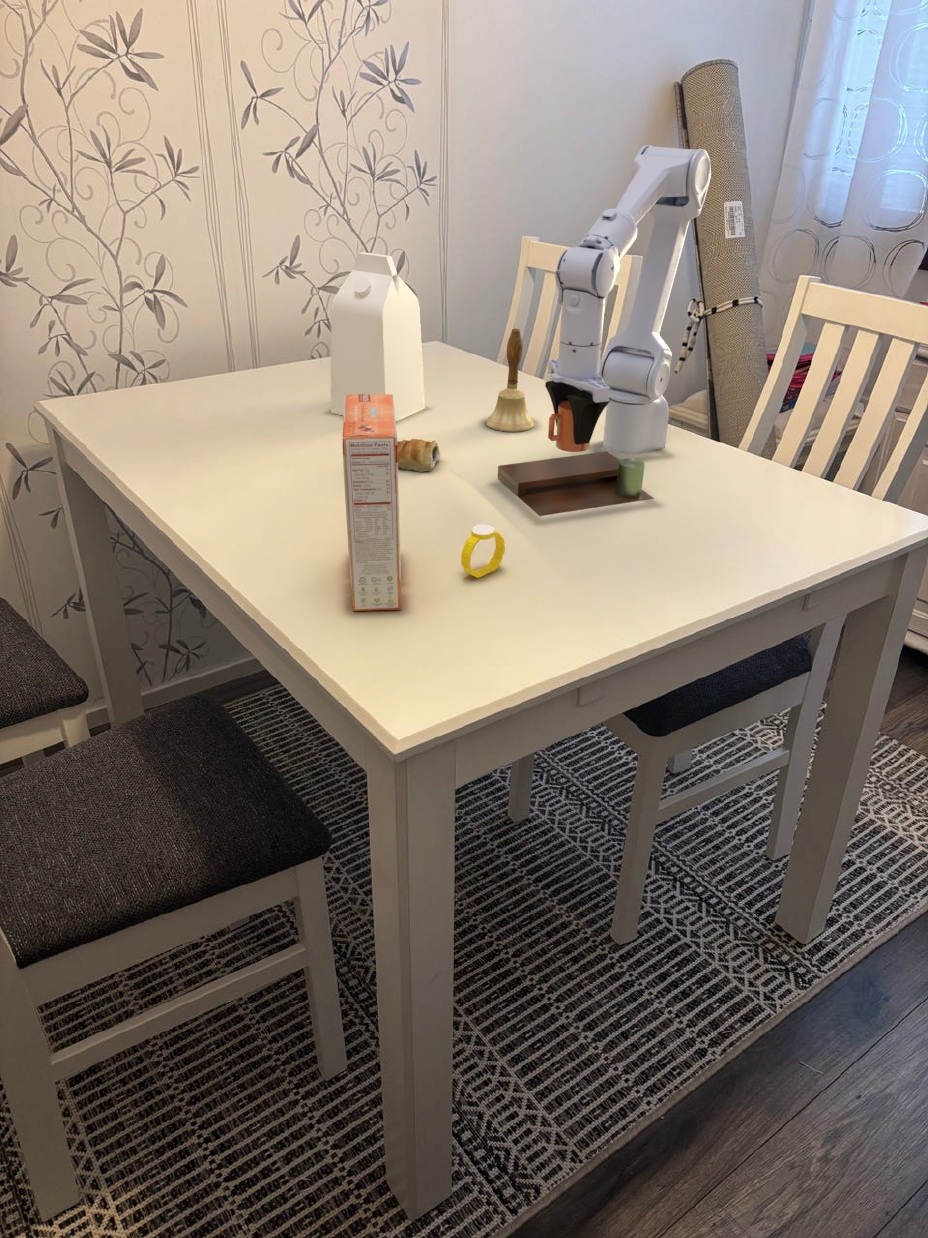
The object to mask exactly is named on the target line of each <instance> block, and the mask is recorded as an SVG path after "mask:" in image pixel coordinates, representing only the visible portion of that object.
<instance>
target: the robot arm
mask: <svg viewBox="0 0 928 1238" xmlns="http://www.w3.org/2000/svg"><path fill="white" fill-rule="evenodd" d="M711 167H712V166H711V158H710V156H709V154H708V151H707V150H706V149H704V148H698V149H691V148H681V147H680V148H678V147H665V146H652V145H651V144H644V145H643V146H642V147H641V148H640V149H639V150H638V152H637V153H636V155H635V157H634V159H633V163H632V169H631V181H630V182H629V185H628V187H627V188H626V190H625V191H624V193H623V194H622V196H621V198H620V200H619V201H618V203H617V204H616V207H615V208H608V209H605V210H604V211H603V212H602V213H601V214H600V215H599V217H598V218H597V219H596V221H595V222H594V224H593V225H591V227H590V229H588V232H587V233H586V234H585V236H584V237H583V239H581V241H580V242H579V244H578V245H577V246H576V245H574V246H570V247H569V248H568V249H565V250H563V252H562V253H561V255H560V257H559V259H558V261H557V264H556V265H557V266H556V270H554V271H555V272H554V280H555V285H556V287H557V290H558V297H557V300H558V304H559V305H560V306H561V316H560V328H559V329H560V330H559V342H558V343H559V345H558V357H557V358H558V359H556V358H555V359H549V360H548V361H547V374H548V375H549V380H548V381H545V384H544V385H545V389H546V391H547V392H548V395H549V397H550V400H551V404H552V408H553V414H556V413H558V406H559V404H560V403H561V402H565V401H569V403H570V406H571V410H572V415H573V435H574V442H575V444H577V445H578V444H586V443H589V442H590V443H591V440H592V437H593V434H594V431H595V428H596V425H597V423H598V421H599V419H600V416H602V413H603V411H604V410H605V419H604V428H603V438H602V439H603V440H602V441H601V440H600V441H599V443H600V442H602V447H603V448H604V449H606V450H608V451H610V452H613V453H617V454H622V455H623V454H624V455H636V454H641V453H645V452H649V451H654V450H661V449H665V448H666V442H667V435H668V428H669V427H668V426H669V419H670V410H669V409H670V408H669V404H668V401H667V399H666V398H665V397H664V396H663V394H664V393H665V391H666V390H667V387H668V384H669V381H670V376H671V375H670V374H671V364H672V358H673V353H672V351H671V348H669V346H668V345H667V344H666V342H665V341H664V339H663V338H662V337H661V336H660V333H661V330H662V329H661V328H662V325H663V321H664V318H665V314H666V310H667V307H668V303H669V299H670V294H671V291H672V288H673V285H674V280H675V278H676V273H677V269H678V267H679V266H678V265H679V262H680V259H681V255H682V251H683V246H684V243H685V240H686V237H687V231H688V229H689V224H690V221H692V220H694V219H696V218H697V217H699V216H700V215H701V212H702V209H703V206H704V205H705V200H706V196H707V194H708V189H709V185H710V181H711V176H712V169H711ZM647 213H648V214H650V216H652V219H653V227H652V231H651V235H650V238H649V241H648V246H647V250H646V254H645V257H644V262H643V266H642V269H641V273H640V277H639V280H638V284H637V288H636V292H635V295H634V299H633V303H632V307H631V311H630V315H629V318H628V323H627V326H626V328H625V329H624V330H623V331H620V332H619V333H617V334H616V335H614V336H612V337H611V338H609V339H608V342H607V346H606V348H605V350H604V353H603V355H601V353H602V345H603V343H602V342H603V332H604V320H605V310H606V300H607V299H606V298H607V296H608V295H609V294H610V292H612V290H613V288H614V286H615V283H616V279H617V276H618V273H619V271H620V268H621V263H620V262H621V261H622V259H623V258H624V256H625V255H626V254H627V253H628V251H629V250H630V249H631V247H632V245H633V244H634V242H635V241H636V240H637V237H638V227H637V225H638V223H639V222H640V221H641V220H642V219H643V218H644V217H645V216H646V215H647ZM634 352H636V353H634ZM640 353H642V354H640ZM645 354H647V355H645ZM649 355H650V356H649ZM651 355H652V356H651ZM605 408H606V409H605ZM557 421H558V419H555V425H556V427H557ZM592 443H595V442H593V441H592Z"/></svg>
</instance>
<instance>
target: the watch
mask: <svg viewBox="0 0 928 1238" xmlns="http://www.w3.org/2000/svg"><path fill="white" fill-rule="evenodd" d="M470 534H471V535H470V536H469V537H468V538H467V540H466V541H465V542H464V545H463V547H462V550H461V554H460V563H461V566H462V569H463V571H464V572H465V573H466V574H469V575H471V576H473V577H475V578H476V579H479V578H482V577H484V576H486V575H488V574H490V573H492V572H494V571H496V570H497V569H498V568H499V566H500V564H501V563H502V560H503V558H504V554H505V552H506V551H505V550H506V546H505V539H504V537H503V536H502V534H501V533H500V532H498V531H496V529H495V527H494V526H493V525H489V524H477V525H474V526H472V528H471V529H470ZM492 538H494V543H495V548H494V552H493V556H492V557H491V558H490V560H489V562H488V563H487V564H486V565H484V566H482V567H480V568H478V569H475V570H473V568H472V566H471V556H472V554H473V551H474V549H475V546H476V545H477V544H479V542H480V540H481V541H482V540H483V541H484V540H490V539H492Z"/></svg>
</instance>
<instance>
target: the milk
mask: <svg viewBox="0 0 928 1238" xmlns="http://www.w3.org/2000/svg"><path fill="white" fill-rule="evenodd" d="M395 265H396V264H395V262H394V260H393V256H392V255H388V254H387V255H386V254H380V253H373V252H365V251H361V252H357V254H356V257H355V260H354V264H353V267H352V270H351V271H350V273H349V274H348V276H347V277H346V279H345V281H344V282H343V283H342V285H341V287H340V288H339V289H338V291H337V293H336V294H335V296H334V297H333V300H332V303H331V309H330V413H331V414H336V415H339V416H342V417H344V403H345V395H353V394H367V395H381V394H393V399H394V409H395V419H396V423H397V422H399V421H400V420H403V419H405V418H407V417H410V416H412V415H414V414H416V413H418V412H421V411H423V410H425V409H426V401H425V400H426V399H425V381H424V380H425V379H424V363H423V362H424V361H423V345H422V342H423V341H422V324H421V307H420V302H419V299H418V297H417V295H416V294H415V293H414V292H413V290H412V289H411V288H410V287H409V286H408V285H407V283H406V282H405V281H404V280H403V279H402V278H401V277H400V276H399V275H398V272H397V268H396V266H395Z"/></svg>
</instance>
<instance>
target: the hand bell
mask: <svg viewBox="0 0 928 1238" xmlns="http://www.w3.org/2000/svg"><path fill="white" fill-rule="evenodd" d="M523 345H524V343H523V339H522V336H521V330H520V329H519V328H512V329H511V332H510V335H509V338H508V340H507V346H506V359H507V364H508V374H507V383H506V388H505V389H502V390H500V391H499V392H498V395H497V401H496V405H495V408H494V410H493V411H492V413H491V414H490V415H489V416H488V417H487V418H486V420H485V424H486V426H487V427H489V428H491V429H493V430H495V431H501V432H509V433H515V432H517V433H519V432H526V431H529V430H531V429H533V428H534V427H535V422H534V420H533V419H532V417H530V415H529V412H528V410H527V406H526V405H527V403H526V395H525V394H526V393H524V391H521V390H520V389H519V388H518V383H519V382H518V381H519V367H520V363H521V361H522V357H523Z"/></svg>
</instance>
